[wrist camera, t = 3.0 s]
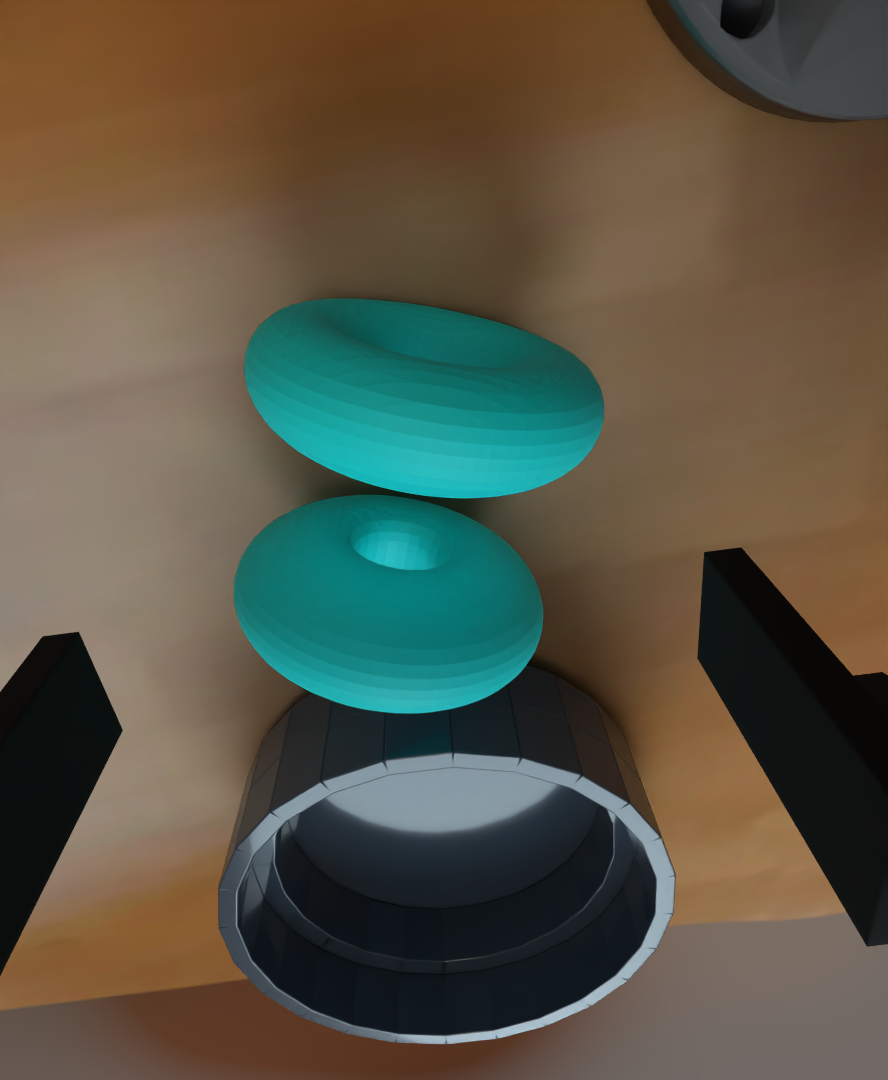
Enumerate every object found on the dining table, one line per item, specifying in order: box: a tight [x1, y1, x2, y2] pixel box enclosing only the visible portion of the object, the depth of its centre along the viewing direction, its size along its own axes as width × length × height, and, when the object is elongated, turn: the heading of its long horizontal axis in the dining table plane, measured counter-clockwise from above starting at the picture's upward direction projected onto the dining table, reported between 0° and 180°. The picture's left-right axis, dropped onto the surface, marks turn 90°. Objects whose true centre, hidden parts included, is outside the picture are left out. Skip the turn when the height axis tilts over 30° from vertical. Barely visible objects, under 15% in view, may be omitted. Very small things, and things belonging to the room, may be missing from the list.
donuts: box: [234, 298, 604, 714], centre depth 22 cm, size 10×10×10 cm
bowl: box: [218, 665, 676, 1044], centre depth 32 cm, size 19×19×6 cm
